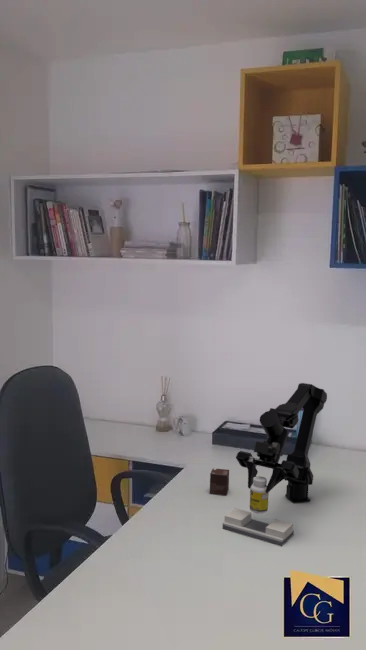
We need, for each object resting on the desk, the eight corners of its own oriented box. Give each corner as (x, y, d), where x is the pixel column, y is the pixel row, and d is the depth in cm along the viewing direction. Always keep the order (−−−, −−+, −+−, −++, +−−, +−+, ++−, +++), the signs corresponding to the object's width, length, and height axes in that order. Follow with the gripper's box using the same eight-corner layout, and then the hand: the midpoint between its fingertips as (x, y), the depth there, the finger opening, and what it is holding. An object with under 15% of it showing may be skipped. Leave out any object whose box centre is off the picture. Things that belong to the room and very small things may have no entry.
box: (226, 496, 208) (227, 475, 207) (209, 494, 209) (209, 473, 208) (228, 489, 214) (229, 469, 213) (211, 487, 215) (212, 467, 214)
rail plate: (222, 528, 182) (223, 516, 182) (236, 518, 190) (236, 507, 190) (281, 546, 172) (282, 533, 172) (293, 534, 180) (294, 522, 180)
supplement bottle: (245, 508, 181) (247, 477, 180) (259, 505, 184) (260, 474, 183) (257, 515, 177) (259, 483, 176) (271, 511, 180) (273, 479, 179)
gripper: (239, 425, 186) (221, 470, 178) (297, 436, 176) (280, 484, 168) (250, 443, 194) (232, 487, 186) (305, 455, 184) (289, 502, 176)
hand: (257, 490), depth 179 cm, fingers closed on supplement bottle, 5 cm apart
